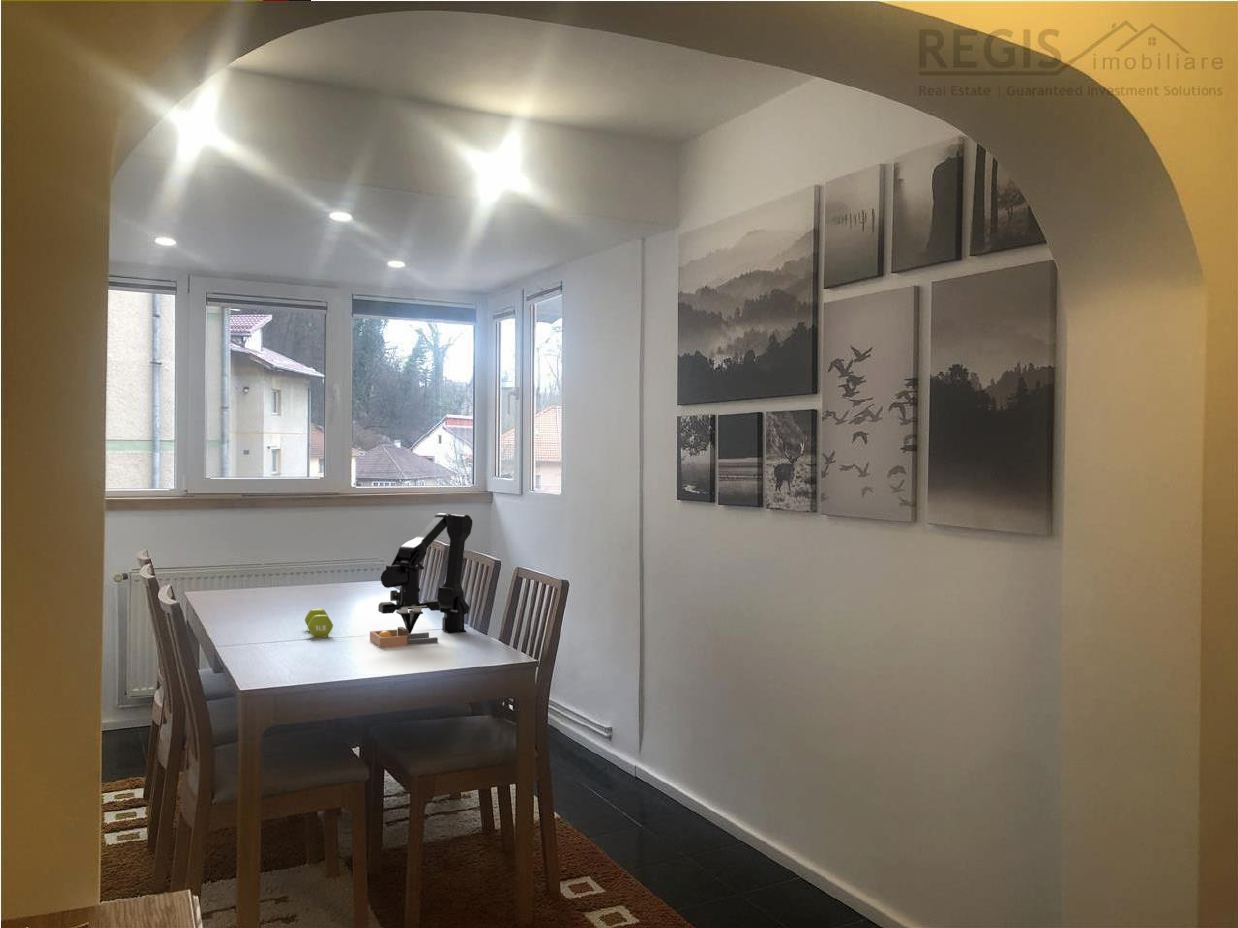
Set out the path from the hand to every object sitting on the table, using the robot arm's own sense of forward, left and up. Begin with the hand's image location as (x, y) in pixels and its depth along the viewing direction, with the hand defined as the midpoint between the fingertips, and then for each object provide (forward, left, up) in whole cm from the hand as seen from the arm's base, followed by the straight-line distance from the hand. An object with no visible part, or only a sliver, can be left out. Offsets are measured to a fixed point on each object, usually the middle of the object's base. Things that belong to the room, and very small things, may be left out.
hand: (409, 633), depth 301 cm
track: (-3, 0, -3) cm, 4 cm away
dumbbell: (+23, -25, -3) cm, 34 cm away
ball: (+8, 0, -1) cm, 8 cm away
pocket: (+6, 0, -3) cm, 7 cm away
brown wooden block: (+2, 0, -3) cm, 3 cm away
